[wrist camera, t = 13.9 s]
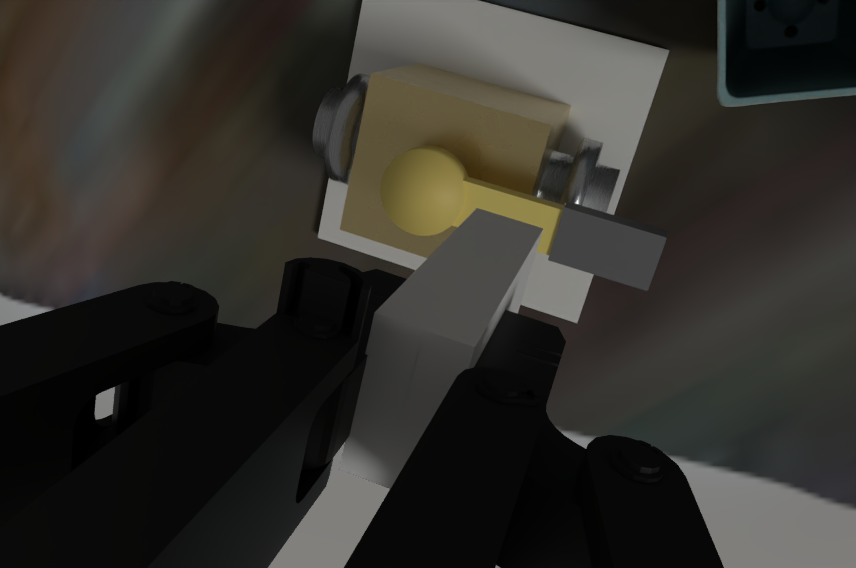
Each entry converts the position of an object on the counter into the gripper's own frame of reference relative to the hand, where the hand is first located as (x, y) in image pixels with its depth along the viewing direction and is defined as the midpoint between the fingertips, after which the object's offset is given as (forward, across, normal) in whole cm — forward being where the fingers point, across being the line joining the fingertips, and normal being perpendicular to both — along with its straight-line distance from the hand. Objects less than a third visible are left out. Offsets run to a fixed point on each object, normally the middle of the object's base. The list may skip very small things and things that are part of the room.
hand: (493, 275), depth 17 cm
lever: (+23, -2, -5) cm, 23 cm away
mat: (+34, -7, -5) cm, 35 cm away
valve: (+34, -7, -5) cm, 35 cm away
